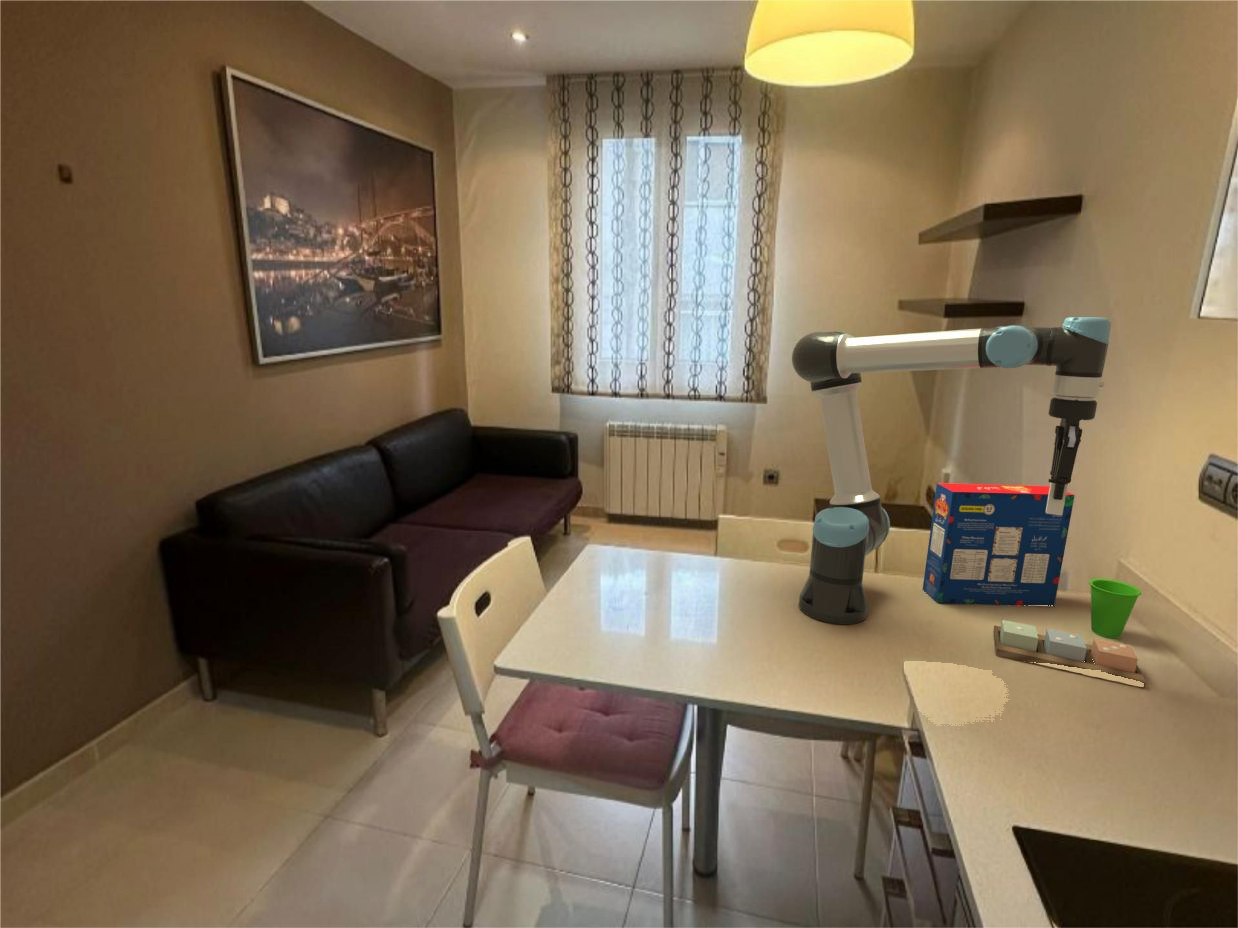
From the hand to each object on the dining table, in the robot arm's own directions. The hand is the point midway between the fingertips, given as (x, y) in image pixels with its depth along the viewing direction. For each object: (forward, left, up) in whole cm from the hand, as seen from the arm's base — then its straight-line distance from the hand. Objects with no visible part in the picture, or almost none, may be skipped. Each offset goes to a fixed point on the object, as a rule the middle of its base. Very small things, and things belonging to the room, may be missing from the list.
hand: (1053, 513), depth 130 cm
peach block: (+13, -5, -28) cm, 31 cm away
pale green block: (-3, -5, -28) cm, 29 cm away
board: (+5, -5, -28) cm, 29 cm away
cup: (+15, +13, -29) cm, 35 cm away
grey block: (+5, -5, -28) cm, 29 cm away
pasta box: (-8, +21, -29) cm, 36 cm away
